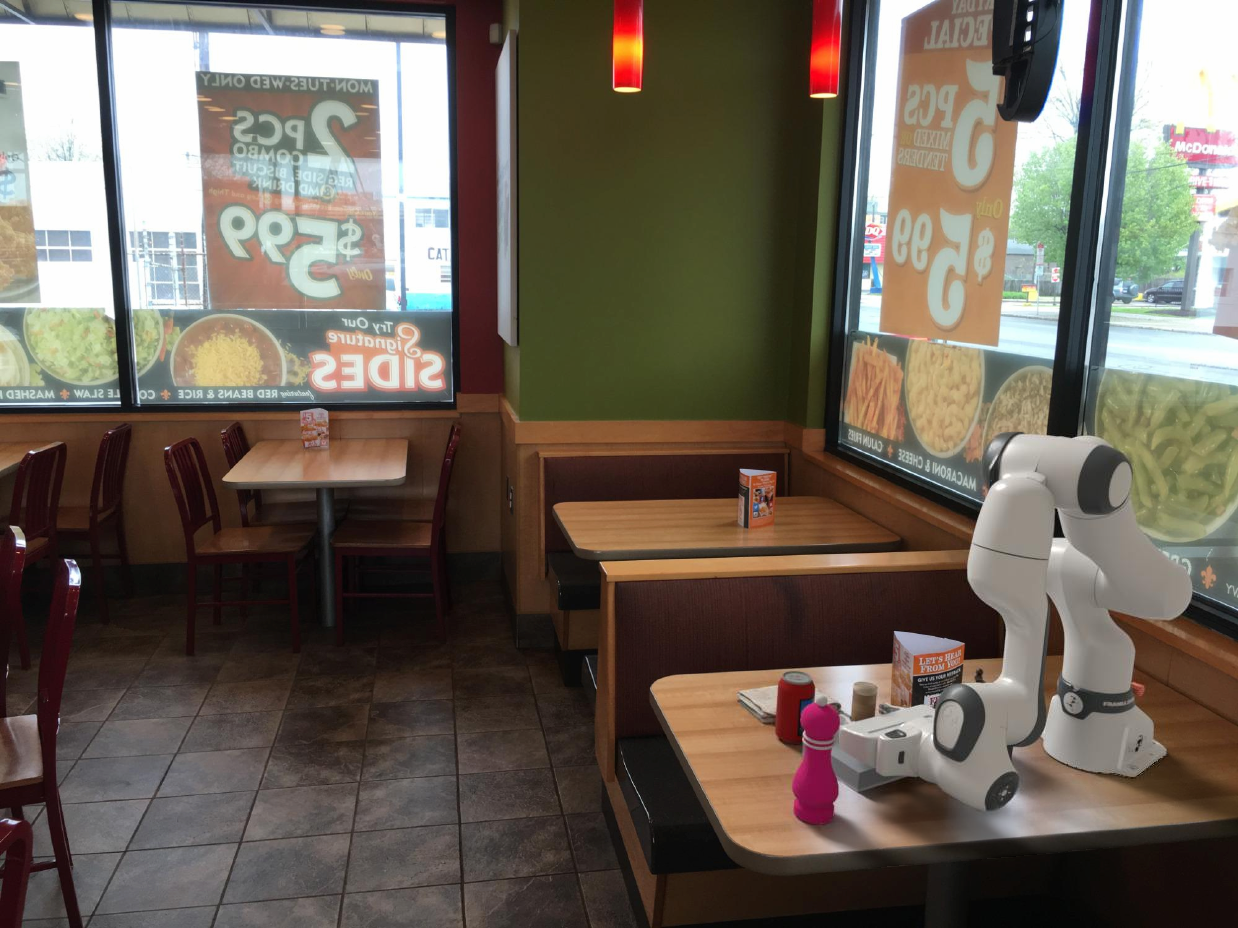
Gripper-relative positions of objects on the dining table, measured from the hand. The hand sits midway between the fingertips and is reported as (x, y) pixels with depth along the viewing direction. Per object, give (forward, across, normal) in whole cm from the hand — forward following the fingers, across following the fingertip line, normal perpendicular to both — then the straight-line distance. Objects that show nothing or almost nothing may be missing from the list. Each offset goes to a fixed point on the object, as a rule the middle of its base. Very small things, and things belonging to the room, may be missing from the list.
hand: (861, 712), depth 166 cm
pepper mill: (-9, +18, +10) cm, 22 cm away
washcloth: (+24, -4, +10) cm, 26 cm away
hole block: (0, 0, +10) cm, 10 cm away
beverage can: (+13, +4, +10) cm, 16 cm away
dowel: (0, 0, +9) cm, 9 cm away
